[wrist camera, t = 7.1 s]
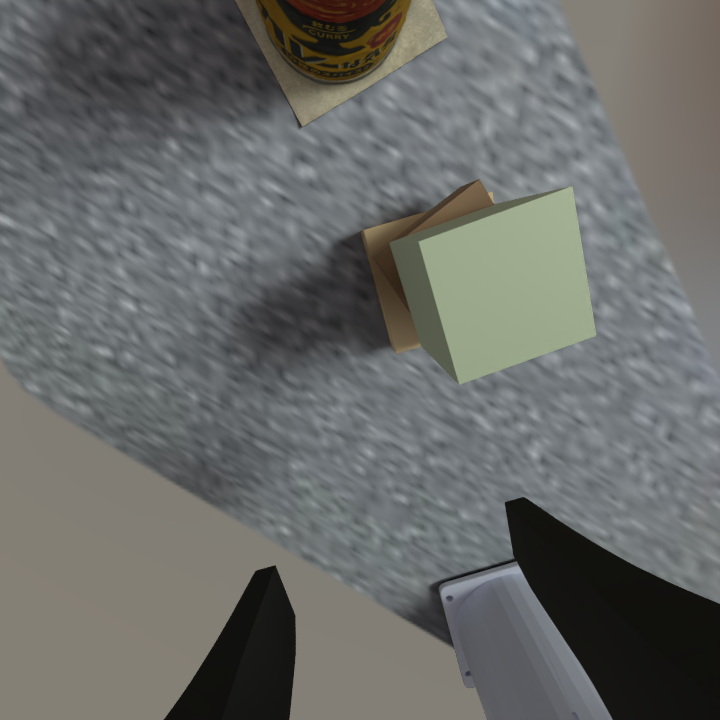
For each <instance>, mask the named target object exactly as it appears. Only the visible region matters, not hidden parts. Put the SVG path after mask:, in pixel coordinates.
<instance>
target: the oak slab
mask: <svg viewBox="0 0 720 720" xmlns="http://www.w3.org/2000/svg"><path fill="white" fill-rule="evenodd" d="M488 195H489V196H490V198H491V200H492V201H493V203H494V200H493V194H492V192H490V193H488ZM428 212H429V211H426V212H423V213H419V214H416V215H413V216H409V217H406V218H403V219H399V220H396V221H393V222H389V223H386V224H382V225H379V226H376V227H372V228H369V229H366V230H363V231H361V235H362V238H363V242H364V246H365V250H366V253H367V257H368V261H369V264H370V268H371V272H372V276H373V279H374V283H375V287H376V291H377V294H378V298H379V302H380V305H381V309H382V313H383V317H384V320H385V324H386V328H387V331H388V335H389V339H390V343H391V346H392V348H393V349H394V351H395V352H396V354H398V353H401V352H404V351H408V350H411V349H414V348H418V347H421V345H420V342H419V338H418V335H417V332H416V329H415V325H414V322H413V319H412V316H411V314H410V312H409V311H408V309H407V308H406V307H405V305H404V304H403V302H402V301H401V300H400V298H399V297H398V295H397V294H396V293H395V291H394V290H393V288H392V287H391V286H390V284H389V283H388V281H387V280H386V279H385V277H384V276H383V274H382V273H381V272H380V270H379V269H378V267H377V266H376V265H375V263H374V262H373V260H372V259H371V258H370V257H371V256H372V255H374V254H375V253H376V252H377V251H379V250H380V249H381V248H383V247H384V246H385V245H386V244H388V243H389V242H390V241H392V240H393V239H394V238H395V237H397V236H398V235H399V234H401V233H402V232H403V231H404V230H406V229H407V228H408V227H410V226H411V225H412V224H413V223H415V222H416V221H417V220H419V219H420V218H421V217H422V216H424V215H425V214H426V213H428Z"/></svg>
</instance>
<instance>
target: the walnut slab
mask: <svg viewBox="0 0 720 720" xmlns="http://www.w3.org/2000/svg"><path fill="white" fill-rule="evenodd" d="M492 205H494V203H493V201H492V200H491V198H490V196H489V195H488V193H487V191H486V189H485V188H484V186H483V184H482V182H481V181H480V179H479V180H476V181H474V182H471V183H469V184H466V185H464V186H462V187H460V188H459V189H457V190H456V191H455V192H453V193H452V194H451V195H449V196H448V197H447V198H446V199H444V200H443V201H442V202H440V203H439V204H438V205H437V206H435V207H434V208H433V209H431V210H430V211H429V212H428V213H426V214H425V215H424V216H422V217H421V218H420V219H419V220H417V221H416V222H415V223H413V224H412V225H411V226H410V227H408V228H407V229H406V230H404V231H403V232H402V233H401V234H399V235H398V236H397V237H395V238H394V239H393V240H392V241H395V240H398V239H400V238H403V237H406V236H409V235H411V234H414V233H417V232H420V231H422V230H425V229H428V228H431V227H434V226H436V225H439V224H442V223H445V222H447V221H450V220H453V219H456V218H458V217H461V216H464V215H467V214H470V213H472V212H475V211H478V210H481V209H483V208H486V207H489V206H492ZM392 241H390V242H392ZM370 258H371V259H372V260H373V262H374V263H375V265H376V266H377V267H378V269H379V270H380V272H381V273H382V274H383V276H384V277H385V279H386V280H387V281H388V283H389V284H390V286H391V287H392V288H393V290H394V291H395V293H396V294H397V295H398V297H399V298H400V300H401V301H402V302H403V304H404V305H405V307H406V308H407V309H408V311H409V312H410V309H409V306H408V303H407V299H406V296H405V293H404V290H403V286H402V283H401V280H400V276H399V273H398V270H397V267H396V263H395V260H394V257H393V254H392V250H391V247H390V244H389V243H388V244H386V245H385V246H384V247H383V248H381V249H380V250H379V251H377V252H376V253H375V254H374V255H372V256H371V257H370ZM410 314H411V312H410Z"/></svg>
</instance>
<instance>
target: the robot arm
mask: <svg viewBox="0 0 720 720" xmlns="http://www.w3.org/2000/svg"><path fill="white" fill-rule="evenodd" d="M505 507H506V513H507V519H508V525H509V531H510V537H511V543H512V549H513V555H514V557H515V559H516V562H513V563H509V564H506V565H502V566H499V567H496V568H492V569H489V570H485V571H482V572H479V573H475V574H472V575H468V576H465V577H461V578H458V579H455V580H451V581H448V582H445V583H442V584H441V585H440V587H439V593H440V597H441V600H442V604H443V608H444V612H445V615H446V619H447V623H448V627H449V630H450V634H451V638H452V641H453V645H454V649H455V653H456V656H457V660H458V664H459V667H460V671H461V675H462V678H463V682H464V685H465V686H466V687H467V688H473V687H476V689H477V692H478V695H479V698H480V701H481V704H482V707H483V709H484V713H485V715H486V718H487V720H720V604H719V603H716V602H714V601H711V600H709V599H707V598H704V597H702V596H699V595H697V594H695V593H692V592H690V591H687V590H685V589H683V588H681V587H678V586H676V585H674V584H672V583H669V582H667V581H665V580H663V579H661V578H659V577H657V576H655V575H653V574H651V573H649V572H646V571H644V570H642V569H640V568H638V567H636V566H634V565H633V564H631V563H629V562H627V561H625V560H623V559H621V558H620V557H618V556H616V555H614V554H613V553H611V552H609V551H607V550H605V549H604V548H602V547H600V546H599V545H597V544H595V543H594V542H592V541H590V540H589V539H587V538H586V537H584V536H582V535H581V534H579V533H578V532H576V531H574V530H573V529H571V528H570V527H568V526H567V525H565V524H563V523H562V522H560V521H559V520H557V519H556V518H554V517H553V516H551V515H550V514H549V513H547V512H546V511H544V510H543V509H541V508H540V507H538V506H537V505H535V504H534V503H532V502H531V501H529V500H528V499H526V498H525V497H522V498H519V499H515V500H511V501H508V502H505ZM447 596H448V597H447ZM295 629H296V628H295V614H294V611H293V609H292V606H291V604H290V601H289V598H288V596H287V594H286V591H285V588H284V586H283V583H282V581H281V578H280V576H279V573H278V571H277V568H276V566H271V567H268V568H264V569H260V570H257V571H256V572H255V573H254V575H253V577H252V578H251V580H250V582H249V584H248V586H247V587H246V589H245V591H244V593H243V595H242V597H241V599H240V600H239V602H238V604H237V606H236V607H235V610H234V611H233V613H232V615H231V616H230V618H229V620H228V622H227V623H226V626H225V627H224V629H223V631H222V632H221V634H220V636H219V637H218V639H217V641H216V642H215V644H214V646H213V647H212V649H211V651H210V652H209V654H208V655H207V657H206V659H205V660H204V662H203V663H202V665H201V667H200V668H199V670H198V671H197V673H196V675H195V676H194V678H193V679H192V681H191V682H190V684H189V685H188V687H187V688H186V690H185V691H184V692H183V694H182V695H181V697H180V698H179V700H178V701H177V702H176V704H175V705H174V707H173V708H172V709H171V711H170V712H169V713H168V715H167V716H166V718H165V719H164V720H289V717H290V708H291V697H292V688H293V677H294V666H295V655H296V631H295Z"/></svg>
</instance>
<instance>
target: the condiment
mask: <svg viewBox="0 0 720 720" xmlns="http://www.w3.org/2000/svg"><path fill="white" fill-rule="evenodd" d="M235 2H236V3H237V5H238V7H239V9H240V11H241V13H242V15H243V17H244V18H245V20H246V22H247V24H248V26H249V28H250V30H251V32H252V34H253V36H254V37H255V39H256V41H257V43H258V45H259V47H260V49H261V51H262V52H263V54H264V56H265V58H266V60H267V62H268V64H269V66H270V67H271V69H272V71H273V73H274V75H275V77H276V79H277V81H278V82H279V84H280V86H281V88H282V90H283V92H284V93H285V95H286V97H287V99H288V101H289V103H290V105H291V107H292V109H293V110H294V112H295V114H296V116H297V118H298V120H299V121H300V123H301V125H302V127H303V126H305V125H307V124H308V123H310V122H312V121H313V120H315V119H316V118H318V117H320V116H321V115H323V114H324V113H327V112H328V111H330V110H331V109H333V108H334V107H336V106H338V105H340V104H341V103H343V102H345V101H346V100H348V99H350V98H351V97H353V96H354V95H356V94H358V93H359V92H361V91H363V90H364V89H366V88H368V87H369V86H371V85H372V84H374V83H375V82H377V81H379V80H380V79H382V78H384V77H385V76H387V75H388V74H390V73H392V72H393V71H395V70H396V69H398V68H400V67H401V66H403V65H404V64H406V63H407V62H409V61H411V60H412V59H414V58H415V57H416V56H418V55H419V54H421V53H423V52H424V51H426V50H428V49H429V48H431V47H432V46H434V45H436V44H437V43H439V42H440V41H442V40H444V39H446V38H447V34H446V32H445V29H444V27H443V24H442V22H441V20H440V17H439V15H438V13H437V10H436V8H435V5H434V3H433V1H432V0H235Z"/></svg>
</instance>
